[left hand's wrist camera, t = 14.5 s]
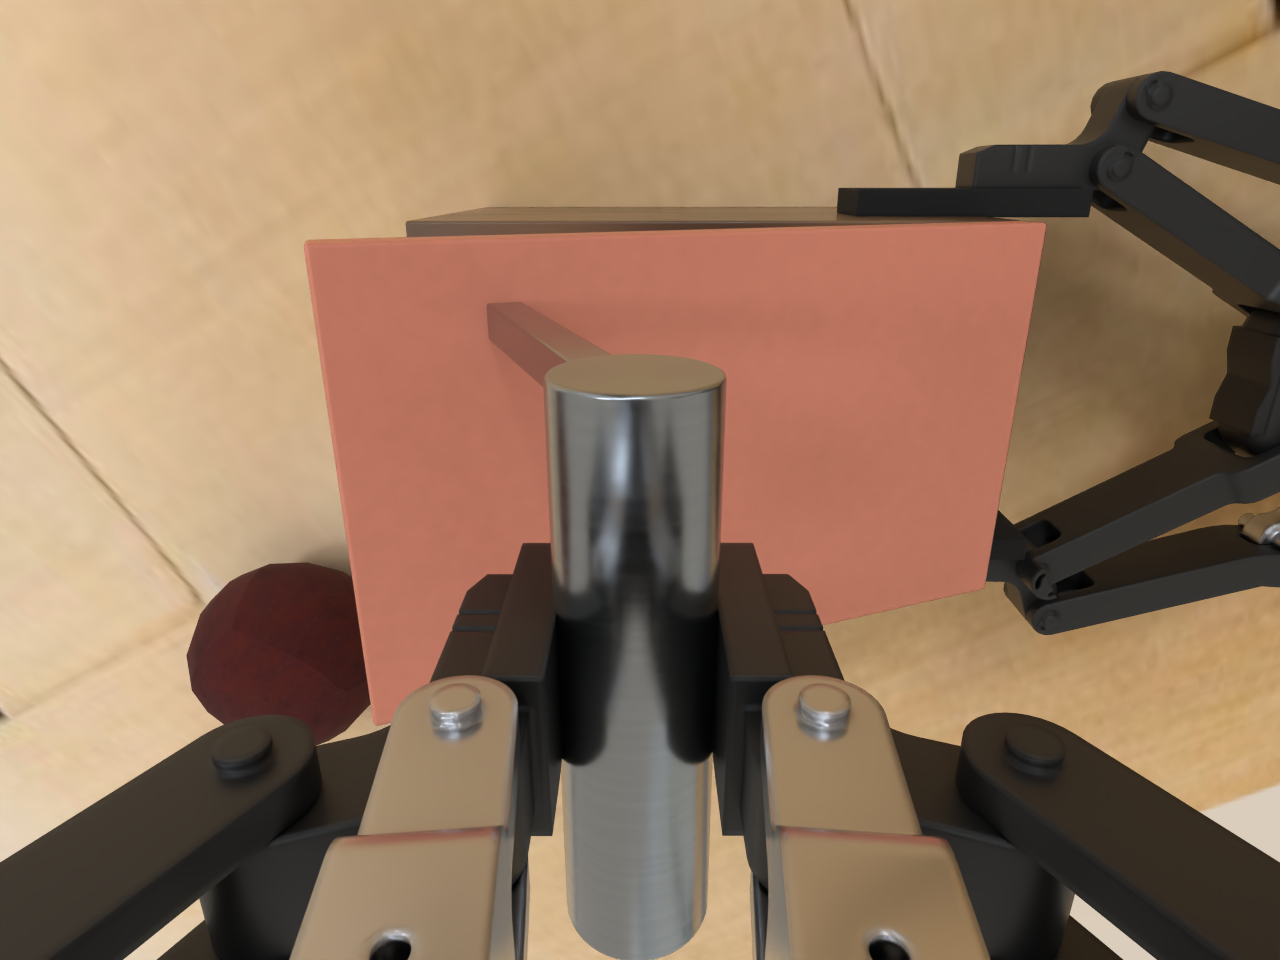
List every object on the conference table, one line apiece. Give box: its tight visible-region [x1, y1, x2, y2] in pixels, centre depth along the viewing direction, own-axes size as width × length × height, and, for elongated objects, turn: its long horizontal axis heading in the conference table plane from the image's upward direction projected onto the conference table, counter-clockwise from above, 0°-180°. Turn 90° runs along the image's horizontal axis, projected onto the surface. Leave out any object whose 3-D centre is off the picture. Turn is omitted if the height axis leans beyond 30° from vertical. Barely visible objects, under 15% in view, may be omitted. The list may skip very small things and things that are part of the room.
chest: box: [406, 207, 1019, 237], centre depth 27 cm, size 16×10×10 cm, turn 90°
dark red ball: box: [187, 563, 371, 745], centre depth 33 cm, size 7×8×7 cm
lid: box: [304, 221, 1046, 960], centre depth 15 cm, size 17×10×9 cm, turn 92°
